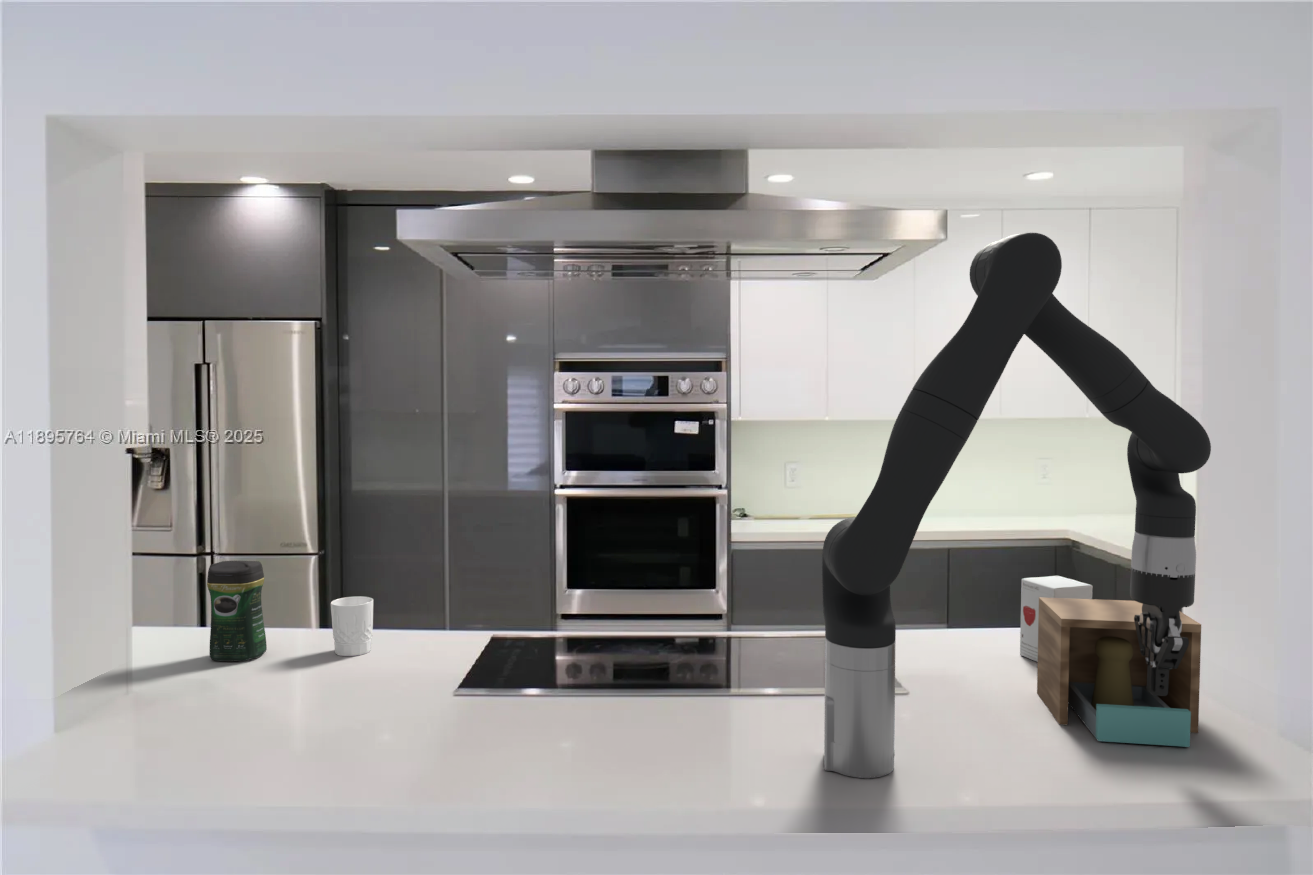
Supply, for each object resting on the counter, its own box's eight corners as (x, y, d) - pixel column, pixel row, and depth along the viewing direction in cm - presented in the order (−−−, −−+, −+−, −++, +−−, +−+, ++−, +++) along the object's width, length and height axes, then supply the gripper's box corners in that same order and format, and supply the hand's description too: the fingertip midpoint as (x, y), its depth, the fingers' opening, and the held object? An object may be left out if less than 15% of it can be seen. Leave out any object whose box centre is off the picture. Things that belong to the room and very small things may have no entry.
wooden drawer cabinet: (1059, 724, 133) (1061, 618, 132) (1036, 693, 147) (1038, 597, 146) (1198, 733, 130) (1201, 624, 129) (1162, 700, 143) (1164, 601, 143)
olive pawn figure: (1142, 715, 133) (1144, 643, 133) (1102, 715, 133) (1104, 643, 133) (1121, 701, 139) (1123, 632, 139) (1083, 701, 139) (1085, 632, 139)
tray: (1098, 740, 126) (1098, 706, 126) (1065, 699, 143) (1066, 669, 143) (1189, 746, 124) (1190, 712, 124) (1145, 704, 141) (1146, 673, 140)
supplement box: (1017, 655, 168) (1019, 577, 167) (1056, 650, 171) (1057, 574, 170) (1052, 669, 160) (1054, 587, 159) (1092, 664, 162) (1094, 584, 161)
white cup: (361, 658, 167) (359, 606, 167) (323, 656, 169) (322, 604, 168) (382, 646, 175) (380, 597, 175) (345, 644, 177) (344, 595, 176)
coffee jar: (273, 651, 172) (270, 557, 171) (251, 663, 164) (248, 565, 163) (226, 650, 173) (223, 556, 172) (202, 662, 165) (199, 564, 164)
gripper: (1116, 557, 125) (1111, 676, 126) (1151, 576, 112) (1145, 709, 113) (1173, 559, 124) (1167, 680, 125) (1215, 579, 111) (1209, 713, 112)
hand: (1157, 693), depth 119 cm, fingers closed
